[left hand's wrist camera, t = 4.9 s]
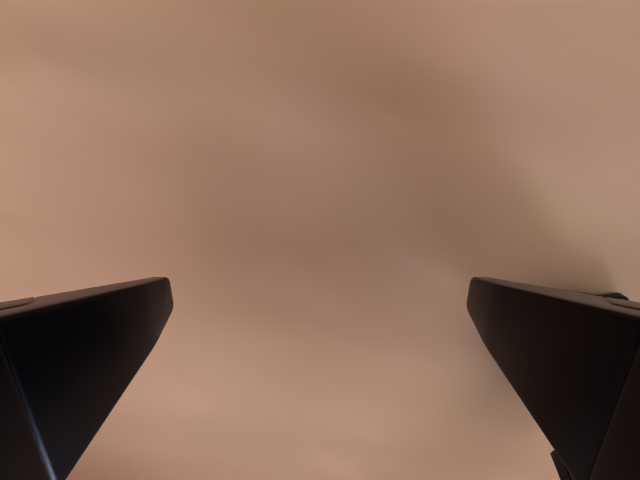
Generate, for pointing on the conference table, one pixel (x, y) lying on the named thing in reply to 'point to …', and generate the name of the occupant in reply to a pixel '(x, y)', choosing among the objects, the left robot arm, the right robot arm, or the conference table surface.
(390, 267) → the conference table surface
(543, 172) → the conference table surface
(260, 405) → the conference table surface
